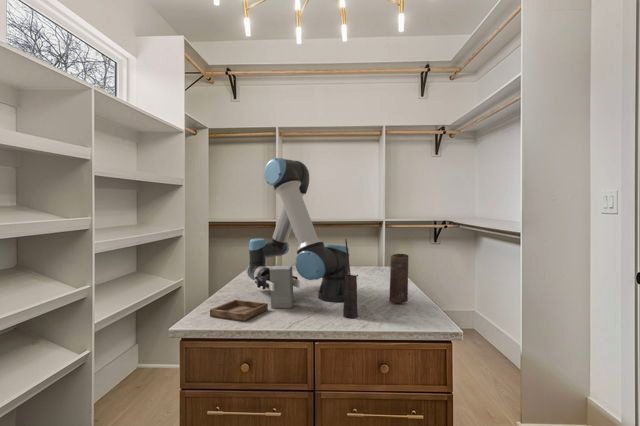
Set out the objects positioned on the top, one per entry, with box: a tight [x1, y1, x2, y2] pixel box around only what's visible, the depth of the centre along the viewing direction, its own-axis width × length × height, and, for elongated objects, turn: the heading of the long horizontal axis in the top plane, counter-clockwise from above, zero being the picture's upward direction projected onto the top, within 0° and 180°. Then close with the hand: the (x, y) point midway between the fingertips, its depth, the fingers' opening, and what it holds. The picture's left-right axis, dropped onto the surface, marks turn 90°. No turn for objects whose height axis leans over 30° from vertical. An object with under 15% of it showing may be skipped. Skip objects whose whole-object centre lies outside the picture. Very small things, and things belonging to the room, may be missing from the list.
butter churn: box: [342, 238, 359, 319], centre depth 126 cm, size 9×10×28 cm
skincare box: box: [269, 265, 295, 309], centre depth 139 cm, size 8×7×16 cm
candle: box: [388, 253, 410, 305], centre depth 143 cm, size 8×7×20 cm
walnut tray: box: [209, 299, 269, 323], centre depth 130 cm, size 15×15×2 cm
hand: (286, 285), depth 135 cm, fingers closed on skincare box, 10 cm apart
